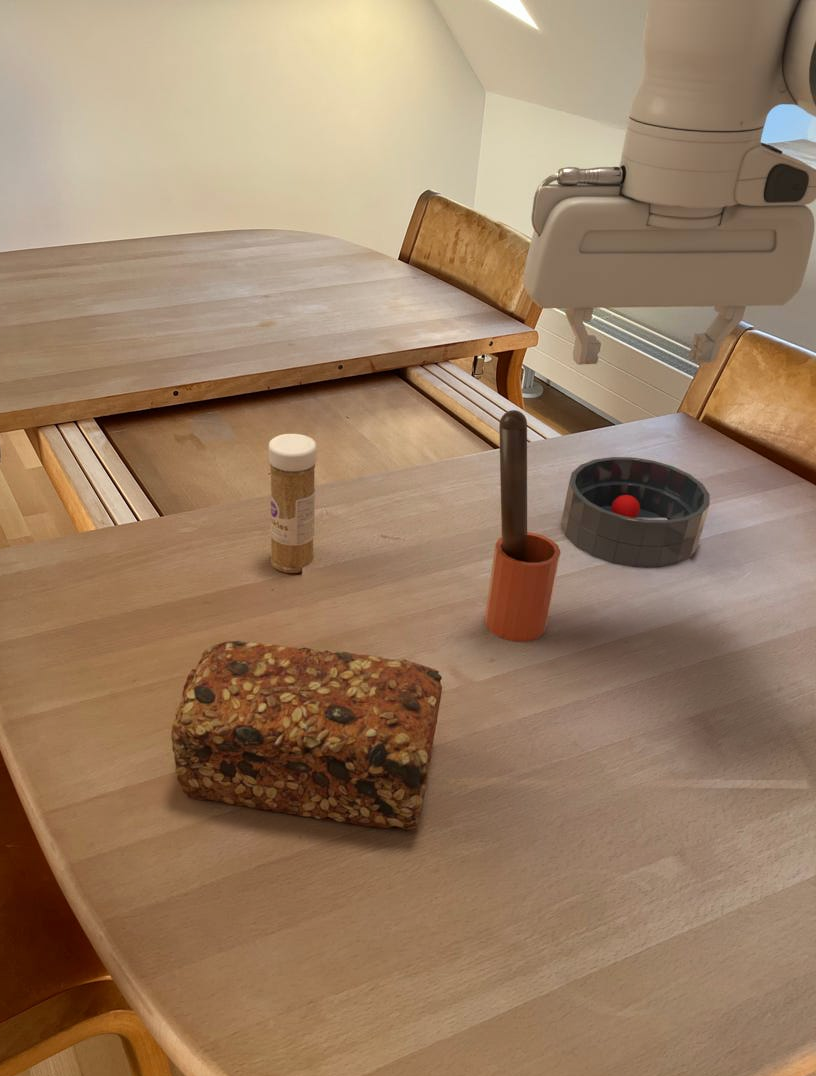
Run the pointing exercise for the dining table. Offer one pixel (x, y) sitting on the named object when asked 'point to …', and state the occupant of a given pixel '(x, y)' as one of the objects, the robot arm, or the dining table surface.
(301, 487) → the sprinkles bottle
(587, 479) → the bowl
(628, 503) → the berry
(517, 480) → the stirring stick
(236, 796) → the bread
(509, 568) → the crock
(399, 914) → the dining table surface
